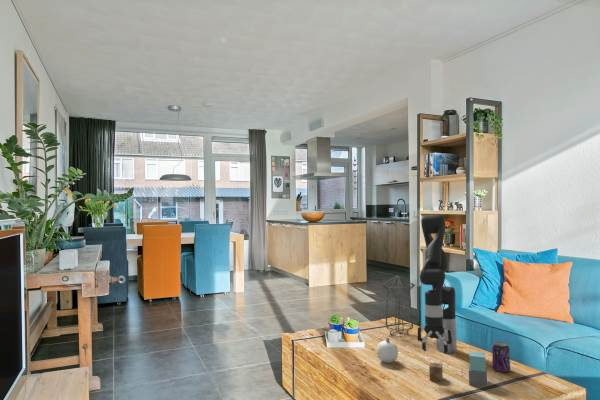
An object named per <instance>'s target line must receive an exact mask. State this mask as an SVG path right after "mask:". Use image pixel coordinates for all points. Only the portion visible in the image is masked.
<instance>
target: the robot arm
mask: <svg viewBox="0 0 600 400" xmlns="http://www.w3.org/2000/svg"><path fill="white" fill-rule="evenodd" d="M420 219H421V221H420V223H421V224H420V225H421V229H422V230H421V231H422V234H423V237H424V243H425V248H426V250H425V252H424V253H425V255H424V256H425V257H424V263H423V266H422V268H421V271H420V273H419V280H420V282H421V283H422V284H423V285H424V286H431V287H432V289H429V290H426V291H424V327H423V326H420V325H419V326H418V327H417V341H418V342H420V343H421V350H423V352H427V344H426V343H427V342H426V341H427V340H428V339H429V338H430V339H436V350H438V352H441V353H444V354H455V353H457V352H458V348H457V345H458V344H457V322H456V321H457V319H456V317H457V316H456V290H455V288H454V287H453V286H445V285H444V284H445V281H446V273H447V269H448V267H449V263H448V257H447V253H446V251H445V250H444V249H443V243H444V239H445V233H446V219H445V217H444V215H443V214H430V215H429V214H428V215H423V216H421V218H420ZM432 234H433V235H434V234H435V236H434V238H433V236H432ZM443 305H447V307H446V308H443ZM423 331H424V333H425V335H424V337H422V333H423Z"/></svg>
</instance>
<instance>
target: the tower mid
mask: <svg viewBox="0 0 600 400" xmlns="http://www.w3.org/2000/svg"><path fill="white" fill-rule="evenodd" d="M469 365H470V370H472V371H481V372H486V367H487V366H486V353H485V352H479V351H472V350H471V351H469Z"/></svg>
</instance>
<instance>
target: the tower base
mask: <svg viewBox="0 0 600 400" xmlns="http://www.w3.org/2000/svg"><path fill="white" fill-rule="evenodd" d="M487 368H488V367H487V366H486V372H481V371H472V370H470V364H469V365H468V384H469V385H468V386H477V387H485V388H488V370H487Z"/></svg>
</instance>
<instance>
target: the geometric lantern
mask: <svg viewBox="0 0 600 400" xmlns="http://www.w3.org/2000/svg"><path fill="white" fill-rule="evenodd" d="M387 283H388V284H387ZM396 283H397V285H398V287H396V288H395V289H394V286H395V284H396ZM408 283H409V284H408ZM380 286H381V287H383V288H384V289H385V290H386V298H385V299H386V307H385V311H386V312H385V328H386V329H387V330H388V331H389V335H390V336H393V337H398V338H403V337H405V336H408V335H409V332H410V331H411V330H412V329H414V324H413V323H414V321H413V313H412V303H411V302H412V301H411V296H410V291H411V290H412V289H413V288H414V287H415V286H416V284H414V283H413V282H411V281H409V280H407V279H405V278H403V277H402V276H400V275H395V276H394V277H392V278H390V279H388V280H387V281H385V282H383V283H382V284H380ZM400 289H401V290H400ZM398 290H400V292H399V294H397V293H396V291H398ZM402 292H404V293H403V295H401V293H402ZM390 293H392V296H389V295H390ZM406 293H407V294H408V296H405V294H406ZM392 297H395V299H392ZM397 297H398V298H397ZM400 297H401V298H400ZM403 298H405V299H403ZM388 300H391V301H395V302H396V303H398V305H395V313H394V315H395V316H394V319H395V320H394V322H393V323H390V324H388V307H389V306H388V304H389V303H388ZM407 300H409V311H410V324H405V323H404V316H403V305H402V301H407ZM393 325H395V328H392V327H390V326H393ZM400 325H401V326H402V328H400ZM404 326H408V327H409V328H406V329H405V328H404ZM394 334H395V335H394ZM396 334H399V335H396Z"/></svg>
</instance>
